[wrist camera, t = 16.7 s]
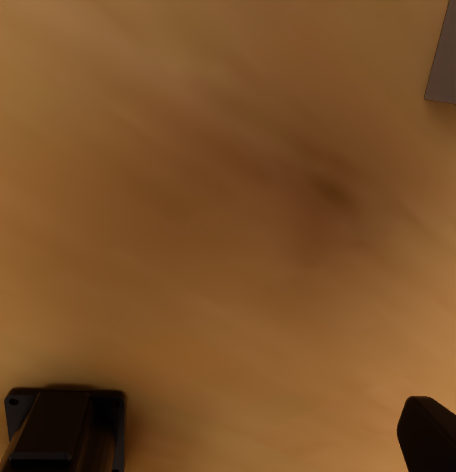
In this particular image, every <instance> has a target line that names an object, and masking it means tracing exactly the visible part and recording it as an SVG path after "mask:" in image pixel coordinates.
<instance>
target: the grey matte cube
mask: <svg viewBox="0 0 456 472" xmlns="http://www.w3.org/2000/svg"><path fill="white" fill-rule="evenodd" d="M424 99H428V100H434V101H440V102H446V103H452V104H456V0H450V1H449V5H448V8H447V12H446V16H445V20H444V24H443V28H442V32H441V35H440V39H439V43H438V47H437V51H436V55H435V59H434V62H433V66H432V70H431V74H430V78H429V82H428V85H427V89H426V93H425V97H424Z"/></svg>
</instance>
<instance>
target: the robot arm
mask: <svg viewBox="0 0 456 472" xmlns="http://www.w3.org/2000/svg"><path fill="white" fill-rule="evenodd" d="M13 398H15V399H17V400H15V399H13ZM115 400H116V401H119V402H114V401H115ZM4 403H5V410H6V418H7V426H8V434H9V441H10V444H9V446H8V448H7V450H6V452H5V454H4V456H3V458H2V460H1V463H0V472H124V468H125V413H126V398H125V396H124V394H122V393H120V392H99V391H57V390H11V391H9V393H8V394H7V396H6V398H5V401H4ZM397 437H398V441H399V444H400V447H401V450H402V453H403V456H404V459H405V462H406V465H407V468H408V471H409V472H456V415H455V414H454V413H452V412H451V411H449V410H448V409H447V408H445V407H444V406H442V405H441V404H440V403H438V402H437V401H435V400H434V399H432V398H430V397H427V396H410V397H409V398H408V399H407V400H406V402H405V405H404V408H403V411H402V413H401V416H400V419H399V422H398V425H397Z"/></svg>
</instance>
